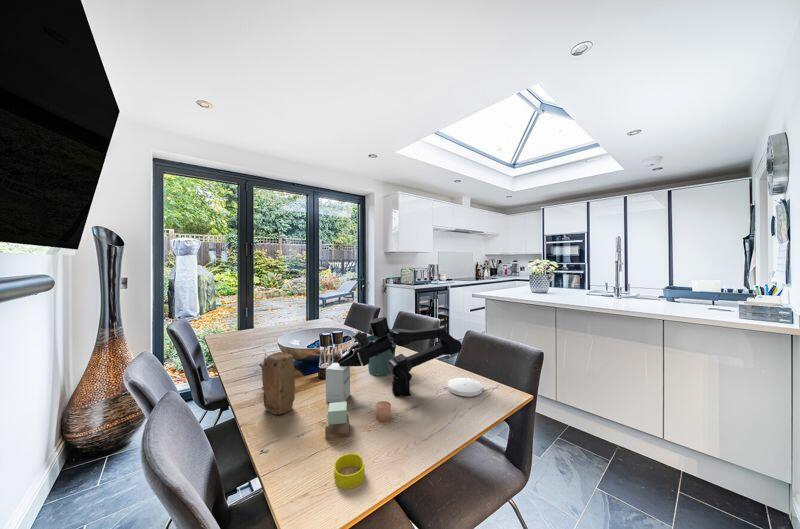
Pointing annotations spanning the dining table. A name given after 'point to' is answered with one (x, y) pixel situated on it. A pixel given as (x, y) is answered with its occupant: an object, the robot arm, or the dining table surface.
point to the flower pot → (380, 360)
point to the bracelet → (352, 479)
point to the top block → (337, 413)
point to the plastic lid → (464, 387)
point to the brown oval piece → (383, 411)
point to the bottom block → (337, 429)
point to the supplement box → (337, 383)
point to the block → (278, 382)
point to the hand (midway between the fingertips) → (338, 363)
